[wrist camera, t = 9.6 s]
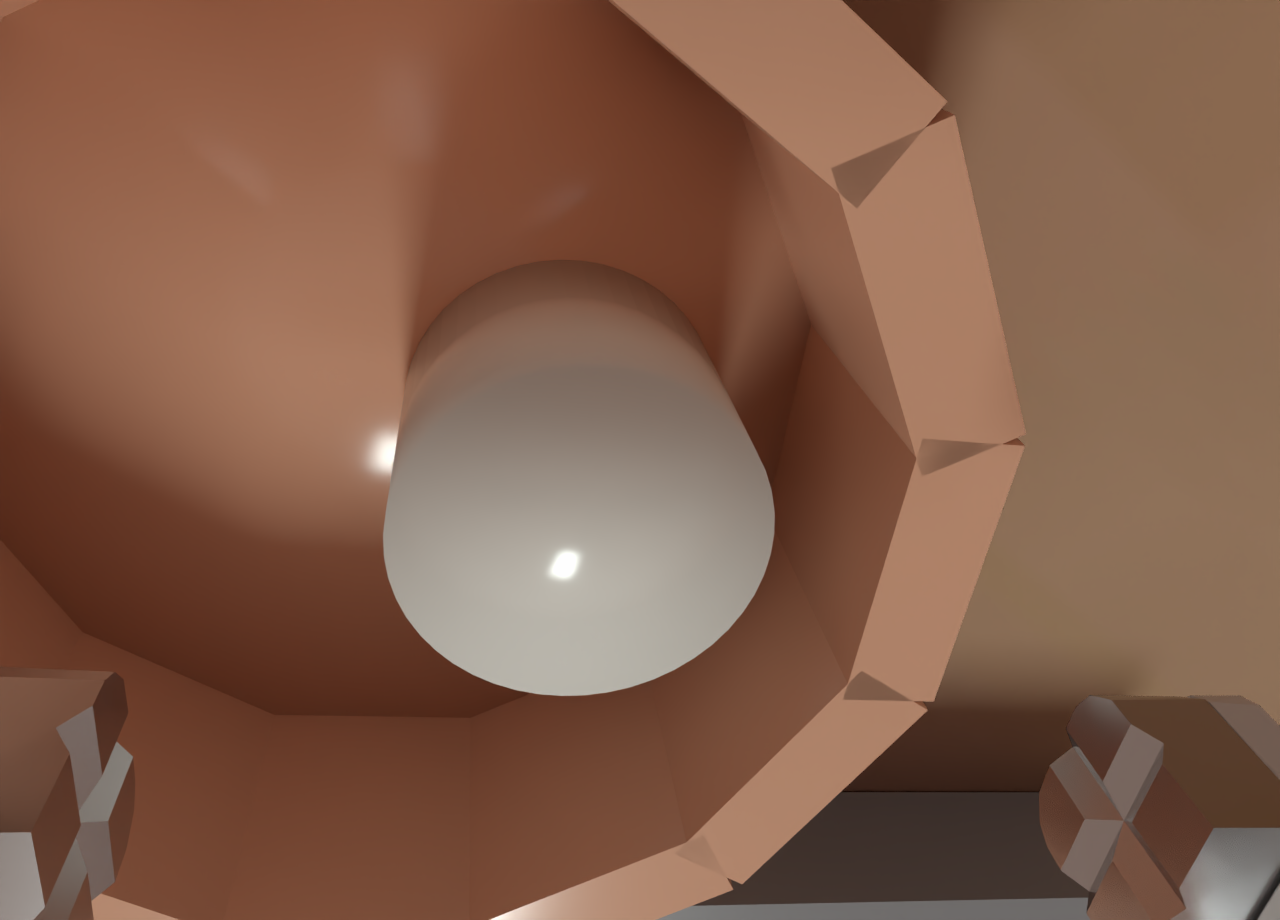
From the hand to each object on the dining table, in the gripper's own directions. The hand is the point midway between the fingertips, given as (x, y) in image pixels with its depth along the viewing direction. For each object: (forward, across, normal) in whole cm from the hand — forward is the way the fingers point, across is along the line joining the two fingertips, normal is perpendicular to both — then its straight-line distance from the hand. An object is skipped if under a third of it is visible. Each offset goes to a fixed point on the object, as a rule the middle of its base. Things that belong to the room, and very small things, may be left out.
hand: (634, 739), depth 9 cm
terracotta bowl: (+7, +3, 0) cm, 8 cm away
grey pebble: (+7, 0, 0) cm, 7 cm away
